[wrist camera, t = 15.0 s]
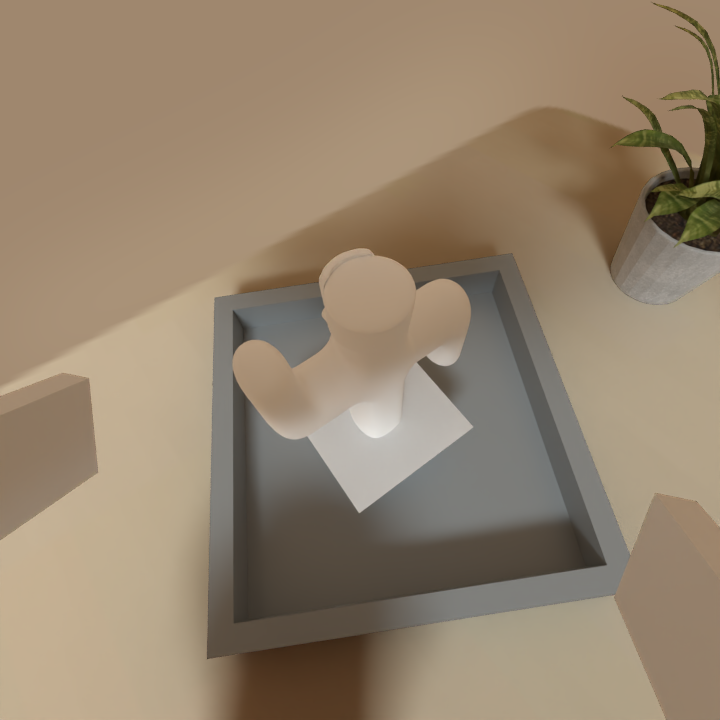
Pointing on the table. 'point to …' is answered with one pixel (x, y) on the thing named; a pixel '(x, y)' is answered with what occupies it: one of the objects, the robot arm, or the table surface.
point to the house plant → (674, 208)
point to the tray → (404, 488)
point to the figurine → (367, 375)
